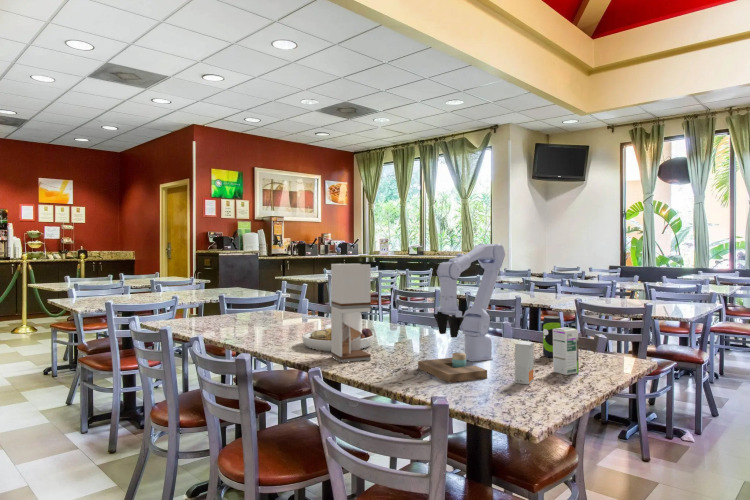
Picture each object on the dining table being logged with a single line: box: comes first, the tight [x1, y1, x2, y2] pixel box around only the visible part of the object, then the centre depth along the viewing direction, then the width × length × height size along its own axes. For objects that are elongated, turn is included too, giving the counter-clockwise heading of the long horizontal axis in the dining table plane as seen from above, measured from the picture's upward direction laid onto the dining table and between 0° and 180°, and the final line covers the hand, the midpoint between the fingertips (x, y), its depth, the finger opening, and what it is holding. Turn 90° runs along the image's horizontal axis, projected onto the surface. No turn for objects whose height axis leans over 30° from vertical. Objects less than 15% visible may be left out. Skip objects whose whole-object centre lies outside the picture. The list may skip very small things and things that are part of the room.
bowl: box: [301, 327, 375, 352], centre depth 215 cm, size 30×30×8 cm
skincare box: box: [514, 340, 535, 385], centre depth 157 cm, size 6×4×12 cm
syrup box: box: [552, 327, 580, 376], centre depth 168 cm, size 6×6×14 cm
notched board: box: [417, 357, 488, 383], centre depth 168 cm, size 14×20×2 cm
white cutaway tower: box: [330, 263, 372, 363], centre depth 189 cm, size 11×11×35 cm
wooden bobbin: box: [451, 352, 467, 368], centre depth 169 cm, size 5×5×6 cm
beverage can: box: [542, 315, 562, 359], centre depth 193 cm, size 6×6×15 cm
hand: (448, 335), depth 179 cm, fingers open, 7 cm apart
